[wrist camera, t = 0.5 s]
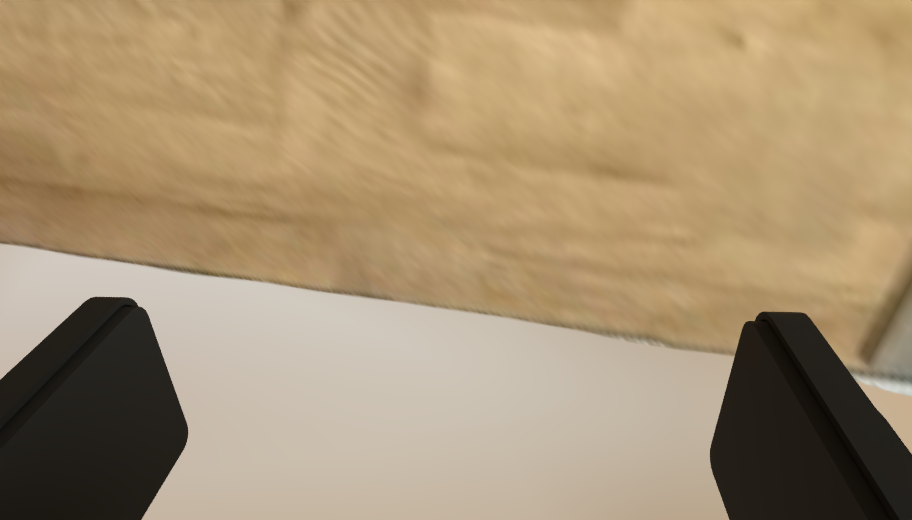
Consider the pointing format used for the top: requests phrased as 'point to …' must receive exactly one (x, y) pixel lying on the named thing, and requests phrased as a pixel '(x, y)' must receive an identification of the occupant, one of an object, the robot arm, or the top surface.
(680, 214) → the top surface
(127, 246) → the top surface
